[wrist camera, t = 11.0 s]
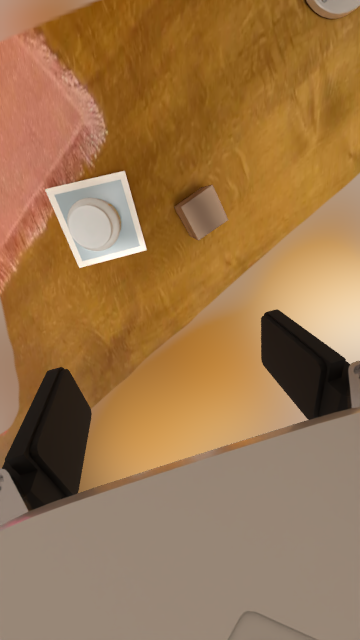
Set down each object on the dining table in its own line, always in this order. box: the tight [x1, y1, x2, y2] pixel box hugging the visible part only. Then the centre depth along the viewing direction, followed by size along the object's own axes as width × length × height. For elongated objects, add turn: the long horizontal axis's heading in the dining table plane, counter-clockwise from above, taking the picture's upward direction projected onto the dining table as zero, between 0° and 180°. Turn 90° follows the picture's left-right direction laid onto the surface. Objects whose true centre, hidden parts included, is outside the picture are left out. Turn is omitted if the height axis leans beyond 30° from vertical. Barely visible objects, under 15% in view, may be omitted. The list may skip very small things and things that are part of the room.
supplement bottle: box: [67, 198, 121, 251], centre depth 26 cm, size 5×5×10 cm
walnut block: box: [174, 185, 228, 240], centre depth 33 cm, size 5×5×5 cm
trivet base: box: [45, 171, 147, 268], centre depth 32 cm, size 10×10×3 cm
